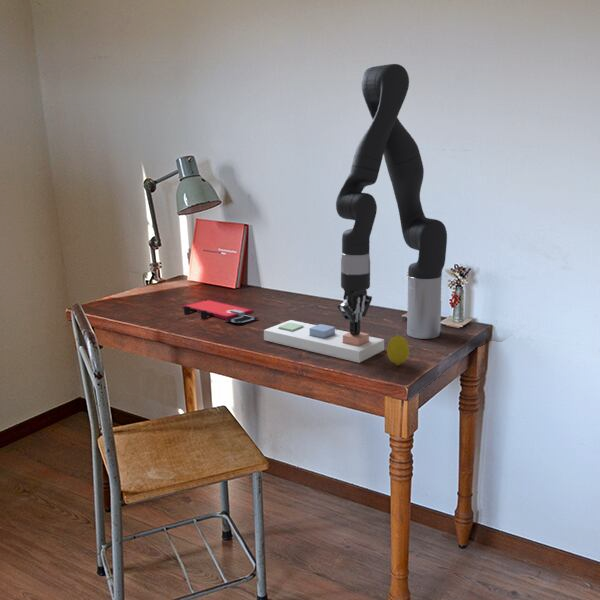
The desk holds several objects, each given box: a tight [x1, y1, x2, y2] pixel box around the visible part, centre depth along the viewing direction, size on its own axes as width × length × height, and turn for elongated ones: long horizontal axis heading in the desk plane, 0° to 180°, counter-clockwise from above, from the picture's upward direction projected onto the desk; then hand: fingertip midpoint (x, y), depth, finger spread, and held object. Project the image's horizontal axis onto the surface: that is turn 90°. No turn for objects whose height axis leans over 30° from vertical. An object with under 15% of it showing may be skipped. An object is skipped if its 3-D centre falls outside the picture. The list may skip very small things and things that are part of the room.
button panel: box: [263, 319, 385, 364], centre depth 195 cm, size 12×32×3 cm, turn 52°
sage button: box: [279, 323, 303, 332], centre depth 201 cm, size 5×5×2 cm
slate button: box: [309, 323, 336, 339], centre depth 194 cm, size 5×5×2 cm
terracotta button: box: [343, 331, 370, 347], centre depth 188 cm, size 5×5×2 cm
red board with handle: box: [181, 299, 258, 325], centre depth 227 cm, size 30×3×15 cm
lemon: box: [386, 334, 410, 367], centre depth 178 cm, size 6×6×8 cm
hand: (354, 334), depth 187 cm, fingers closed
